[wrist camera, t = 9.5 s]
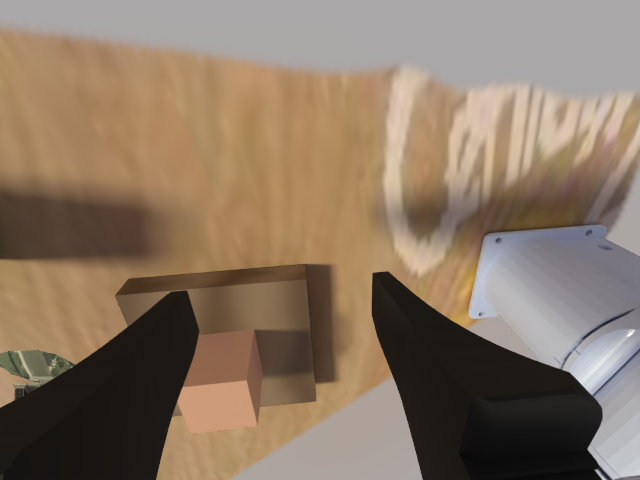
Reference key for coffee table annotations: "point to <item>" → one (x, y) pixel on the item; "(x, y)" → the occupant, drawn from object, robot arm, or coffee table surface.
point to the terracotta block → (223, 383)
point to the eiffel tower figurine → (33, 368)
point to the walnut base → (245, 319)
